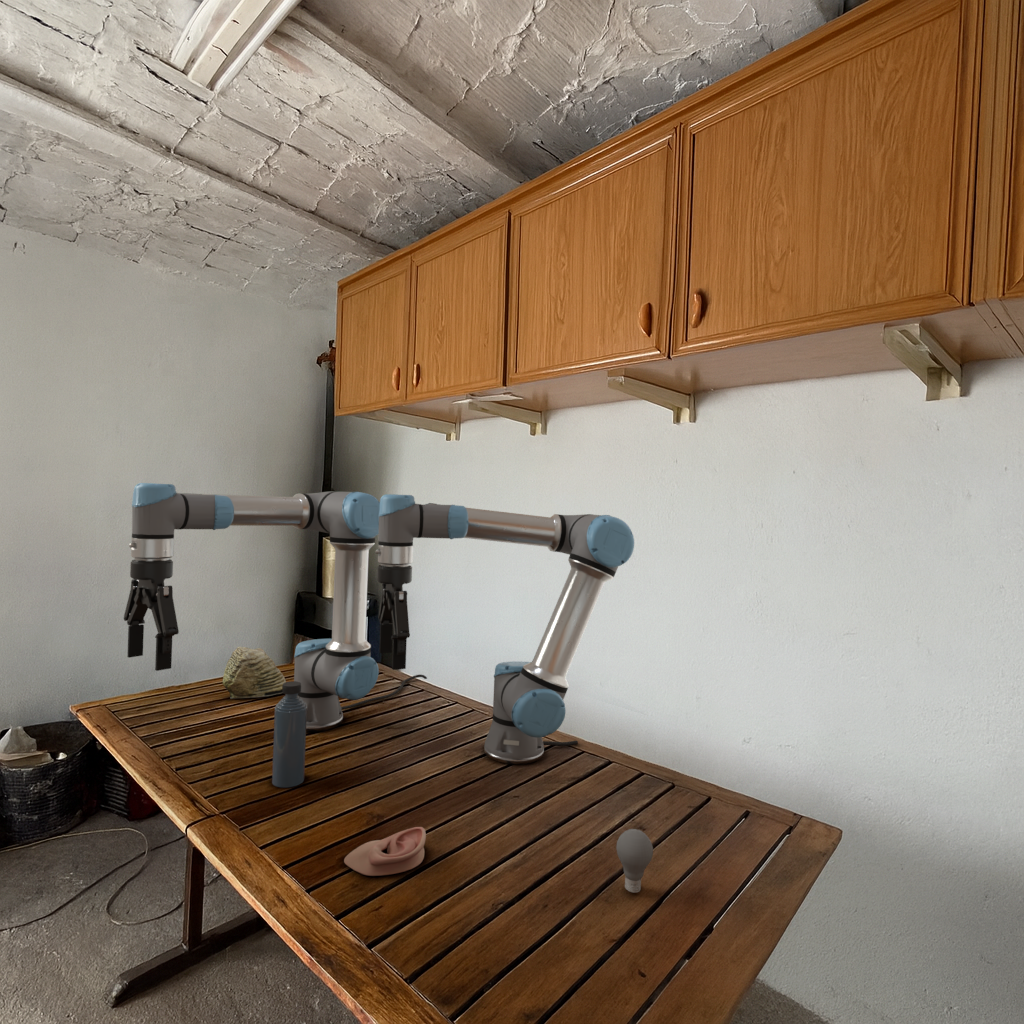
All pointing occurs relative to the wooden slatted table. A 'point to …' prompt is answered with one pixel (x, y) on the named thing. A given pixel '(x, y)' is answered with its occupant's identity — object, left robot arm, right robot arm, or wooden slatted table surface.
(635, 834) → the light bulb
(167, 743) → the wooden slatted table surface
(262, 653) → the fossil
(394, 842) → the anatomical model
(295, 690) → the cap
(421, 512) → the right robot arm
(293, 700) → the bottle
